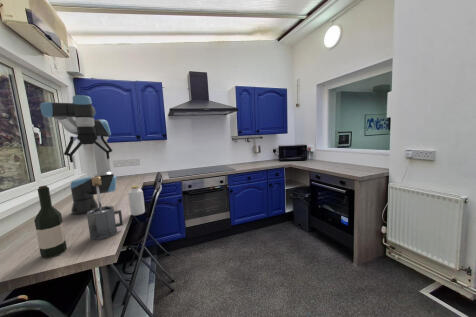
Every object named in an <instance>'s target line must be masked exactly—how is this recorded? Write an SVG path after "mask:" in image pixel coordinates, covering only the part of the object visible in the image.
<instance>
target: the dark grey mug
mask: <svg viewBox="0 0 476 317" xmlns="http://www.w3.org/2000/svg"><path fill="white" fill-rule="evenodd" d="M101 207H102V210H108V211H105V212H101V213H96V214H93V213H94V212H97V211H100V210H99V207H98V208H95V209H93V210H90V211H88V212H87V213H86V218H87V226H88V230H89V238H90V240H91V241H101V240H104V239H108V238H110V237H112V236H114V235H116V234H117V233H118V227H122V226H124V223H123V216H122V209H119V210H115V208H114V206H112V205H105V206H101ZM116 215H118V218H119V223H116Z"/></svg>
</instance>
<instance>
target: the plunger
mask: <svg viewBox="0 0 476 317" xmlns="http://www.w3.org/2000/svg"><path fill="white" fill-rule="evenodd" d="M91 179H92V184H93V186H96V189H97V194H96V195H97V201H98V202H97V204H98V208H99V210H100V211H97V212H94V213H93V214H96V213H101V212H105V211H108V210H102V207H103V206H102V201H101V194H100V192H99V185H102V184H101V177H100V176H99V177H95V176H94V177H92V176H91Z"/></svg>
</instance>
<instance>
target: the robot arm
mask: <svg viewBox="0 0 476 317" xmlns="http://www.w3.org/2000/svg"><path fill="white" fill-rule="evenodd" d="M39 107H40V112H41V114H42V116H43V117H45V118H50V119H51V118H54V119H55V120H57V122H59V124H61V125H62V126H63V128H64V130H66V132H69V133H70V134H73V135H76V136H70V137H69V142H68V144H67V145H66V148H65V151H64V152H63V155H64V156H66V157H67V156H68V157H69V162H70V163H72V165H73V166H72V167H73V169H74V170H76V169H77V162H76V156H75V155H74V154H75V153H76V152H77V151H78V150H79V148H80V147H81V146H82V145H84V146H85V145H92V146H93V153H94V160H95V161H94V162H95V168H96V174H95V175H94V177H99V176H100V177H101V184H102V185H99V192H100V195H101V194H102V195H103V194H106V193H107V194H109V193H112V192H115V190H117V175H114V173H113V172H112V169H111V162H110V153H111V152H113V149H112V148H111V146H110V145H109V144H108V140H109V139H110V136H111V135H112V133H111V129H110V125H109V122H108V121H107V119H106V120H105V119H95V116H96V108H95V107H94V106H93V102H92V98H91V97H90V96H88V95H82V94H77V95H72V102H42V103H40V106H39ZM76 140H78V141H79V142H78V143H77V145H76V146H75V147H74V148H73V149H72V146H73V145H74V142H75V141H76ZM71 149H72V150H71ZM70 151H71V152H70ZM70 190H71V191H70V192H71V198H72V207H71V211H70V213H71V215H76V216H77V215H78V216H79V215H84V214H87V212H88V211H90V210H93V209H95V208H99V203H98V202H97V200H96V199H95V195H97V189H96V186H93V184H92V176H86V177H82V178H81V177H80V178H78V179H74V180H72V181H71V182H70Z"/></svg>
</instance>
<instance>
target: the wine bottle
mask: <svg viewBox="0 0 476 317" xmlns="http://www.w3.org/2000/svg"><path fill="white" fill-rule="evenodd" d="M37 193H38V199H39V205H40V209H39V211H38V213H37V214H36V216H35V218H34V221H33V222H34V226H35V231H36V236H37V242H38V248H39V254H40V258H41V259H46V260H47V259H50V258H54V257H58V256H60V255H61V254H63V253H65V252H66V250H67V249H68V247H67V246H68V245H67V242H66V241H67V240H66V234H65V228H64V222H63V216H62V213H61V211H59V210H58V209H57V208H55V206H53V204H52V198H51V193H50V187H48V185H40V186H38V188H37Z"/></svg>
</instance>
